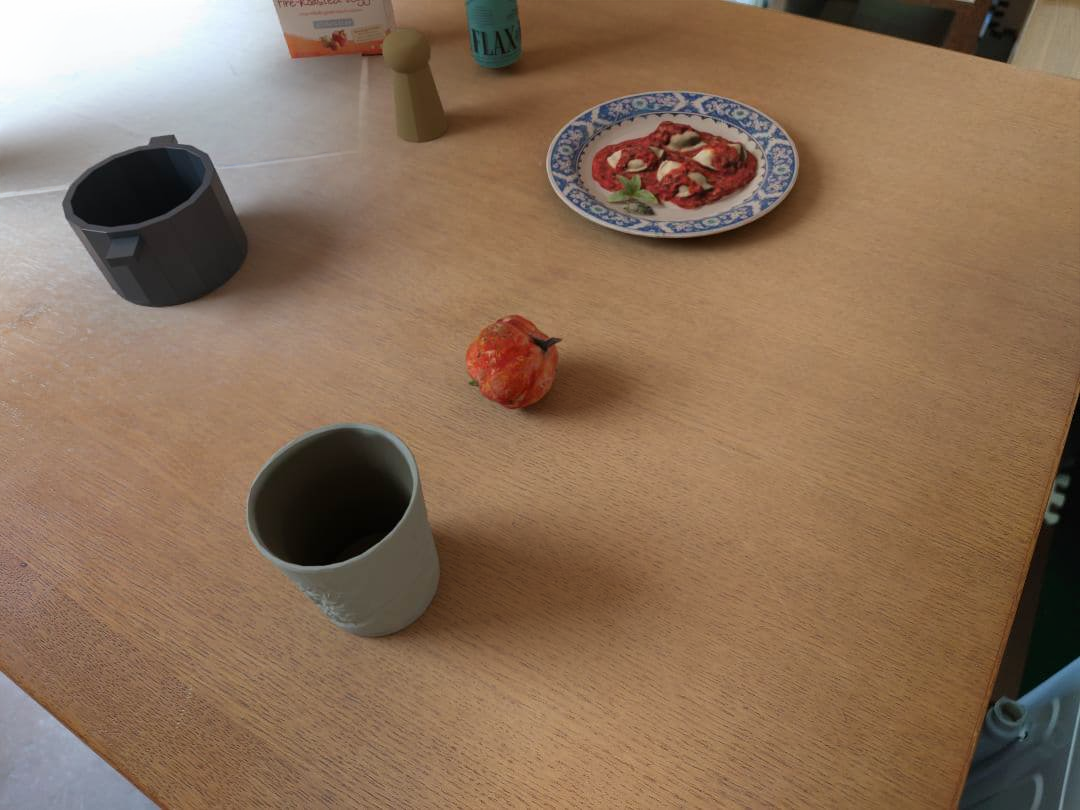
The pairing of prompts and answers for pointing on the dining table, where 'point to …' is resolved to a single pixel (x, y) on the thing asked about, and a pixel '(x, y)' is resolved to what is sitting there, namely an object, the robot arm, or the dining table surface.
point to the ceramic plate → (672, 164)
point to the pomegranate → (512, 362)
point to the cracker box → (335, 26)
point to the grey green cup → (348, 526)
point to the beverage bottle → (494, 32)
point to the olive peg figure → (414, 86)
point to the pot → (157, 223)
